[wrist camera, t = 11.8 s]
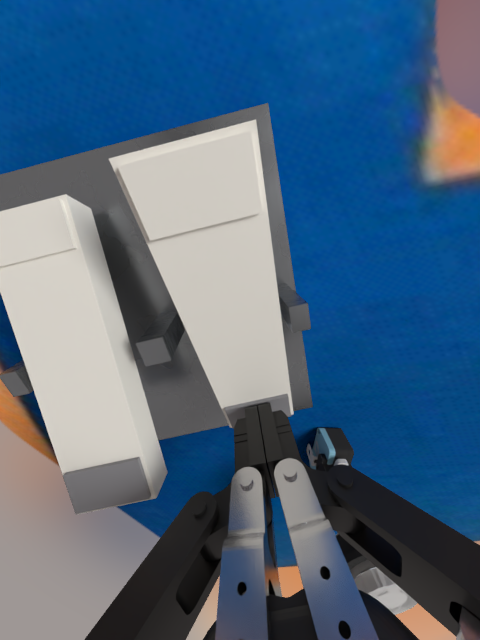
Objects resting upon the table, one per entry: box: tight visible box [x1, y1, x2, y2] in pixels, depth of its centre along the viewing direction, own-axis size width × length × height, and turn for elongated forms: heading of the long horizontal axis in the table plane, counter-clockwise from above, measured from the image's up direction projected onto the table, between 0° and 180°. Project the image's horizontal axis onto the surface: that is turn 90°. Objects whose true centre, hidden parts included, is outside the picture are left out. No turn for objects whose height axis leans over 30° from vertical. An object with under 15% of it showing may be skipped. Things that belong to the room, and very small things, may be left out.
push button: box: [307, 428, 417, 615], centre depth 18 cm, size 7×5×10 cm
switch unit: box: [0, 103, 313, 440], centre depth 13 cm, size 18×15×7 cm
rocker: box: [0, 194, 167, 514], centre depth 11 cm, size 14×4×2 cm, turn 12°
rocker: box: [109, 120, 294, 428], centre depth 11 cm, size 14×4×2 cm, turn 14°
